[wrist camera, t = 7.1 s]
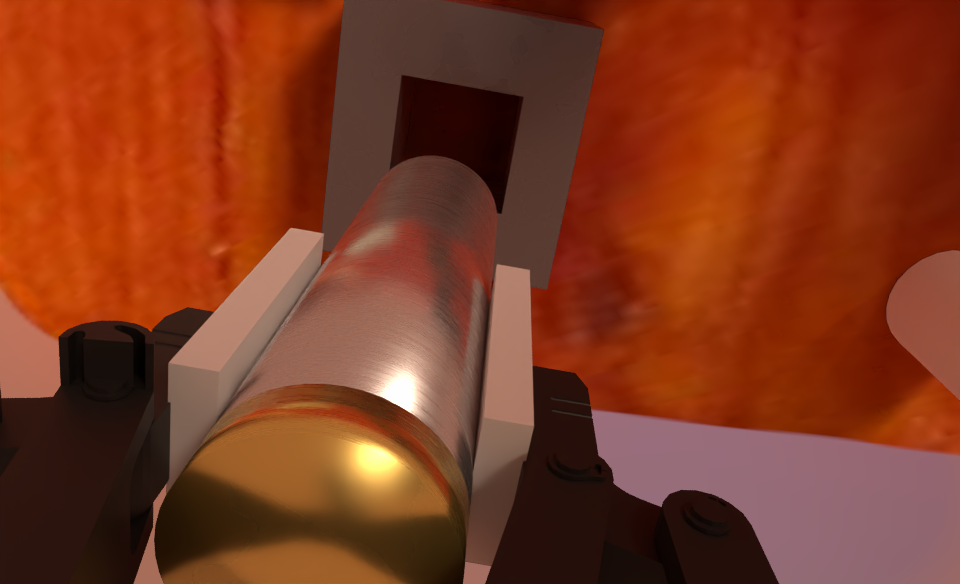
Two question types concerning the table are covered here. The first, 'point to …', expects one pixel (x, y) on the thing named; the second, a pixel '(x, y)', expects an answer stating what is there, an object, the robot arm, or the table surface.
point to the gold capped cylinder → (354, 408)
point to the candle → (930, 315)
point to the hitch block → (472, 63)
